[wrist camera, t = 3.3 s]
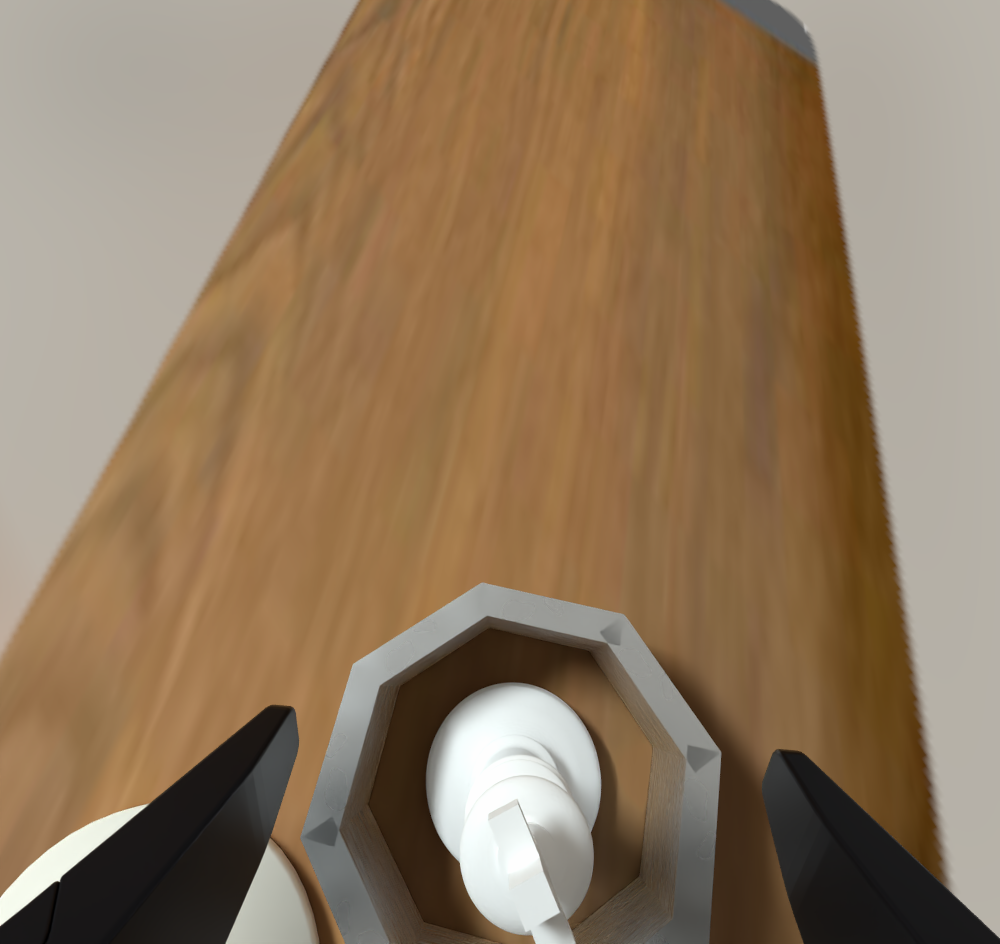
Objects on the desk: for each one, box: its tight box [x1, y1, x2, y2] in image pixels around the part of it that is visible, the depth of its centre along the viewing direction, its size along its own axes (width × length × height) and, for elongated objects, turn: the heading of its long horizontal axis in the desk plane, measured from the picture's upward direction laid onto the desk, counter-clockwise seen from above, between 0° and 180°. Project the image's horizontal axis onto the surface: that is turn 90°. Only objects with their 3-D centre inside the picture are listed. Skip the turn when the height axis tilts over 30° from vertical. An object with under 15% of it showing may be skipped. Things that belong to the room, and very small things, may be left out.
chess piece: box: [426, 682, 601, 944], centre depth 11 cm, size 5×5×10 cm
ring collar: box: [301, 583, 721, 944], centre depth 14 cm, size 9×9×3 cm
